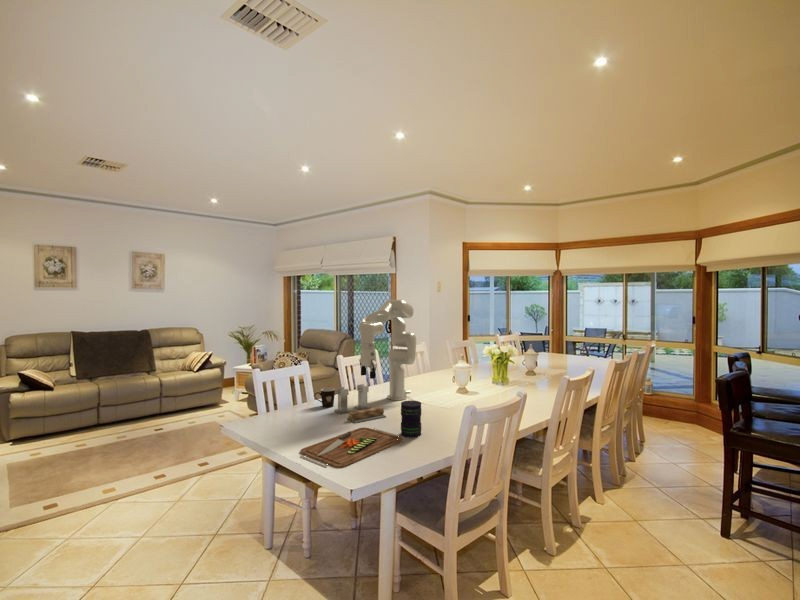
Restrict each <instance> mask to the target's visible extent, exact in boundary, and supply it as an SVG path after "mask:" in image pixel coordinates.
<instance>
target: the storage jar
mask: <svg viewBox="0 0 800 600" xmlns="http://www.w3.org/2000/svg"><path fill="white" fill-rule="evenodd" d="M400 405H401V406H400V416H401V422H400V435H401V436H402V437H403V436H404V438H407V437H409V439H414V438H413V437H416V438H419V437H421V436H422V417H421V416H422V402H420V401H419V400H404V401H403V400H402V402H400ZM420 435H421V436H420ZM418 436H419V437H418Z"/></svg>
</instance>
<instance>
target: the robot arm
mask: <svg viewBox="0 0 800 600" xmlns="http://www.w3.org/2000/svg"><path fill="white" fill-rule="evenodd" d="M413 315H414V308H413V306H412V304H410V303H408V302H407V301H405V300H403V299H387V300H386V301H385V302H384V303H383V304H382V305H381V307H380V308H379V309H378V310H377V311H374V312H372V313H369V314H367V315H366V316H364V317H363V319H362V320H361V321H360V322H359V325H358V331H359V333H360V359H359V360H358V361H359V365H360V376H366V375H367V368H369V379H370V380H372V379H376V371H377V367H378V364H377V354H376V349H375V346H376V345H375V336H380V335H382V334H383V333H384V331H385V324H384V323H387V322H388V321H391V323H392V330H391V331H392V333H391V344H392V346H393V347H397V348H392V349H390V350H389V351H388V354H387V357H388V364H389V365H388V366H389V394H387V396H386V397H387V399H388V400H391V401H403V400H404V401H405V400H406V399H407V398H408V396H407V394H409V395H410V394H411V393H412V392H411V390H405V368H404V367H403V365H410V366H411V365H413V364H415V361H416V355H417V353H416V351H417V350H416V349H417V336H416V334H415V333H413V332H409V331H408V332H406V328H407V327H406V322H405V320H404V319H410V318H412V317H413ZM398 347H399V348H398ZM403 348H405V349H403ZM406 348H407V349H406Z"/></svg>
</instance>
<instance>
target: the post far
mask: <svg viewBox="0 0 800 600" xmlns="http://www.w3.org/2000/svg"><path fill="white" fill-rule="evenodd" d="M356 391H357V405H354V408H355V409H357V411H359V410H365V409H370V408H372V407H371V406H369V405H368V393H369V385H364V384H363V383H362V384H357V385H356Z"/></svg>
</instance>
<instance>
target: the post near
mask: <svg viewBox="0 0 800 600" xmlns="http://www.w3.org/2000/svg"><path fill="white" fill-rule="evenodd" d="M349 390H350V389H349V388H345V386H341V387H337V388H336V394H337V408H335V409H334V412H335V413H337V414H338V415H342V414H343V415H344V414H347V413H348V414H349V412H352V410H350V409H348V396H349Z"/></svg>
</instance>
